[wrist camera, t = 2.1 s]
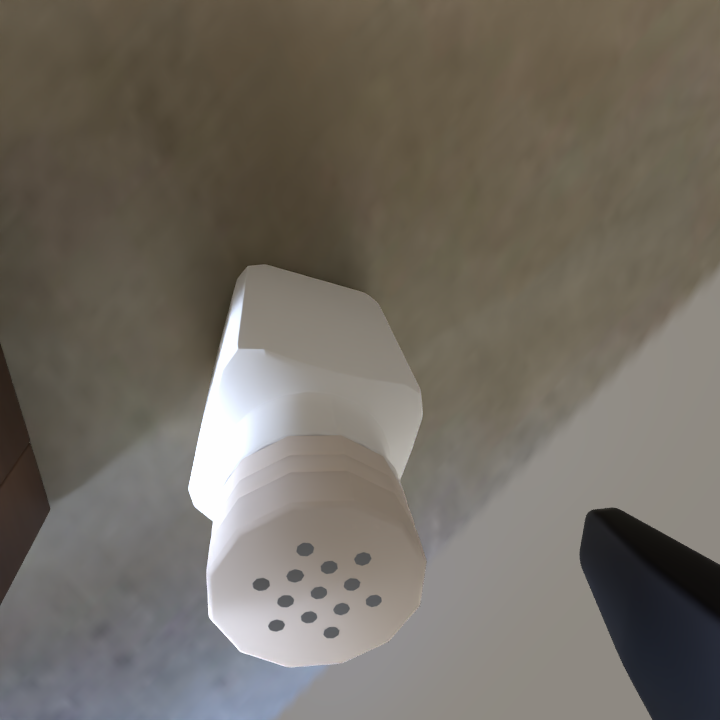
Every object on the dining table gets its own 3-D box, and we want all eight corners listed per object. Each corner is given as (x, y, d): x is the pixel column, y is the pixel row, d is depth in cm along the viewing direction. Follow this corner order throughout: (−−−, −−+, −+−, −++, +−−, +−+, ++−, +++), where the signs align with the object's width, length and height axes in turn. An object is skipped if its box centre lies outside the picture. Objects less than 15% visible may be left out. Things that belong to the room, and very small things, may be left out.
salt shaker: (209, 380, 17) (147, 674, 9) (243, 251, 16) (210, 449, 7) (339, 410, 18) (399, 699, 10) (382, 292, 17) (498, 507, 8)
